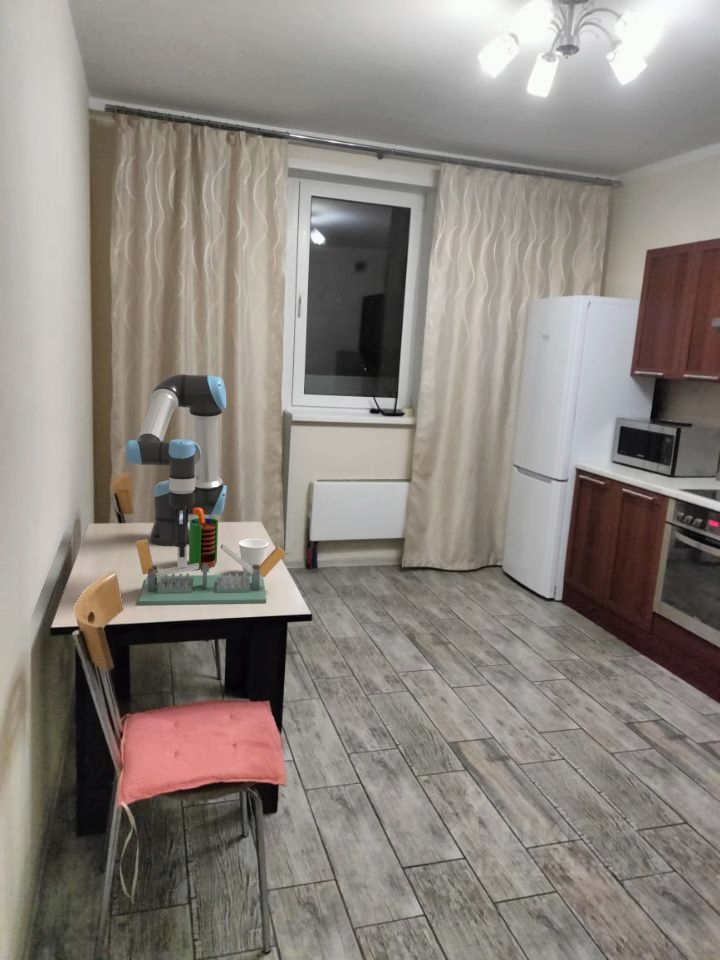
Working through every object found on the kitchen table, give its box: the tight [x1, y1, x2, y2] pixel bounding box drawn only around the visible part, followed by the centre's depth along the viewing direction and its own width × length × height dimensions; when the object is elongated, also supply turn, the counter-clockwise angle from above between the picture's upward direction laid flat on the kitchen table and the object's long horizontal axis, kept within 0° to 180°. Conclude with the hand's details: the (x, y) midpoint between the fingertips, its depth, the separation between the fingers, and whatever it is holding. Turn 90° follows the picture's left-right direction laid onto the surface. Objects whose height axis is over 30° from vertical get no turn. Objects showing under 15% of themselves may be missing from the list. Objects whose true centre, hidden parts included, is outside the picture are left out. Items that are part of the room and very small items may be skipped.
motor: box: [188, 508, 219, 571], centre depth 239 cm, size 10×9×20 cm
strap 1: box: [135, 538, 199, 577], centre depth 212 cm, size 16×3×12 cm, turn 100°
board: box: [138, 574, 267, 606], centre depth 217 cm, size 22×37×1 cm, turn 101°
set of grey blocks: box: [147, 563, 260, 594], centre depth 216 cm, size 10×33×7 cm, turn 101°
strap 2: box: [220, 543, 286, 578], centre depth 217 cm, size 16×3×12 cm
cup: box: [238, 538, 269, 575], centre depth 233 cm, size 10×10×11 cm
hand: (182, 566), depth 213 cm, fingers closed
